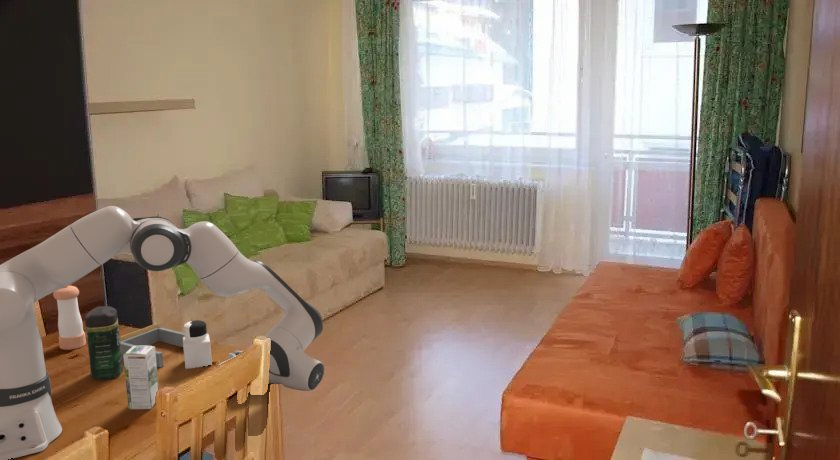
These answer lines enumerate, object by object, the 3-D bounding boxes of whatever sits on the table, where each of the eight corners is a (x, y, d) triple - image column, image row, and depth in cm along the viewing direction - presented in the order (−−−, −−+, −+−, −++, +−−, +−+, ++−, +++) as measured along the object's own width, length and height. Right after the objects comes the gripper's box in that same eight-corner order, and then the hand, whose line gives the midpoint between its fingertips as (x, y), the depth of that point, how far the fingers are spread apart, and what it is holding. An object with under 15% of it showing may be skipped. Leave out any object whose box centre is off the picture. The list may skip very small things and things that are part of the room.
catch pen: (160, 367, 206) (158, 349, 205) (117, 355, 216) (115, 338, 214) (201, 349, 218) (199, 333, 217) (159, 339, 228) (157, 322, 227)
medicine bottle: (210, 356, 213) (207, 316, 210) (212, 365, 206) (208, 324, 204) (184, 360, 211) (180, 320, 208) (185, 369, 204) (181, 328, 202)
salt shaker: (64, 341, 228) (56, 281, 224) (89, 340, 228) (81, 280, 224) (56, 350, 221) (47, 288, 216) (81, 348, 221) (73, 287, 217)
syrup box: (137, 399, 186) (131, 345, 183) (160, 399, 186) (155, 344, 183) (128, 409, 181) (121, 353, 177) (152, 409, 180) (146, 353, 177)
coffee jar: (121, 379, 199) (113, 313, 195) (89, 382, 197) (80, 316, 193) (125, 365, 208) (118, 302, 204) (95, 368, 206) (87, 305, 202)
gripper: (296, 340, 201) (258, 332, 208) (241, 366, 184) (202, 356, 191) (297, 362, 202) (260, 353, 209) (243, 390, 185) (204, 379, 192)
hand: (232, 354), depth 200 cm, fingers closed
